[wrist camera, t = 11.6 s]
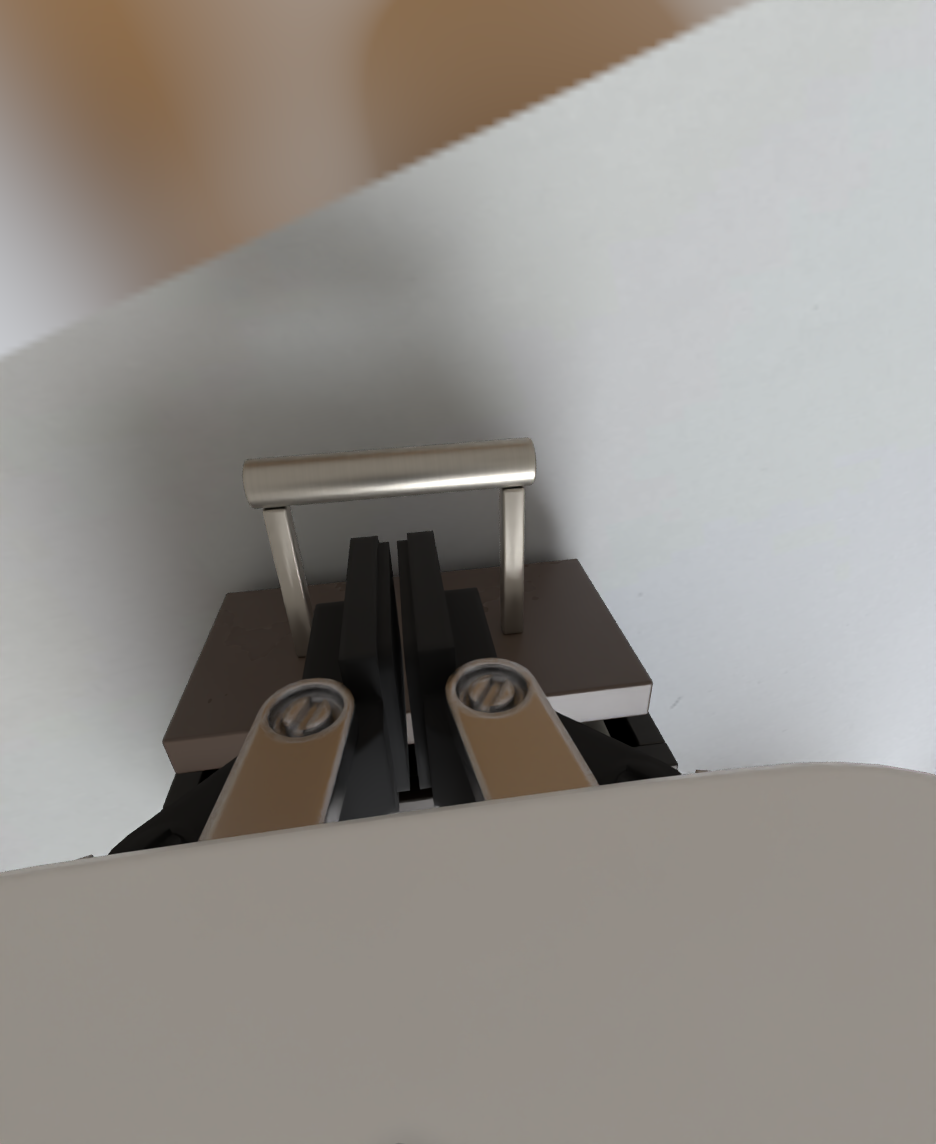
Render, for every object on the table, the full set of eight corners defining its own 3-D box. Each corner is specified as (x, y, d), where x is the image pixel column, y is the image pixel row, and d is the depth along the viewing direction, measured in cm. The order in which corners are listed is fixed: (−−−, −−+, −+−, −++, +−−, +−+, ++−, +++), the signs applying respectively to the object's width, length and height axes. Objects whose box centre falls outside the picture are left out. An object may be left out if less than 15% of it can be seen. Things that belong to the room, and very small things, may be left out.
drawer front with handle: (175, 424, 17) (64, 523, 11) (588, 395, 18) (690, 470, 12) (299, 837, 26) (276, 1007, 21) (561, 801, 28) (608, 952, 22)
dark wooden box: (230, 630, 21) (150, 835, 14) (582, 593, 23) (679, 764, 15) (302, 864, 29) (274, 1079, 21) (564, 826, 30) (623, 1017, 23)
